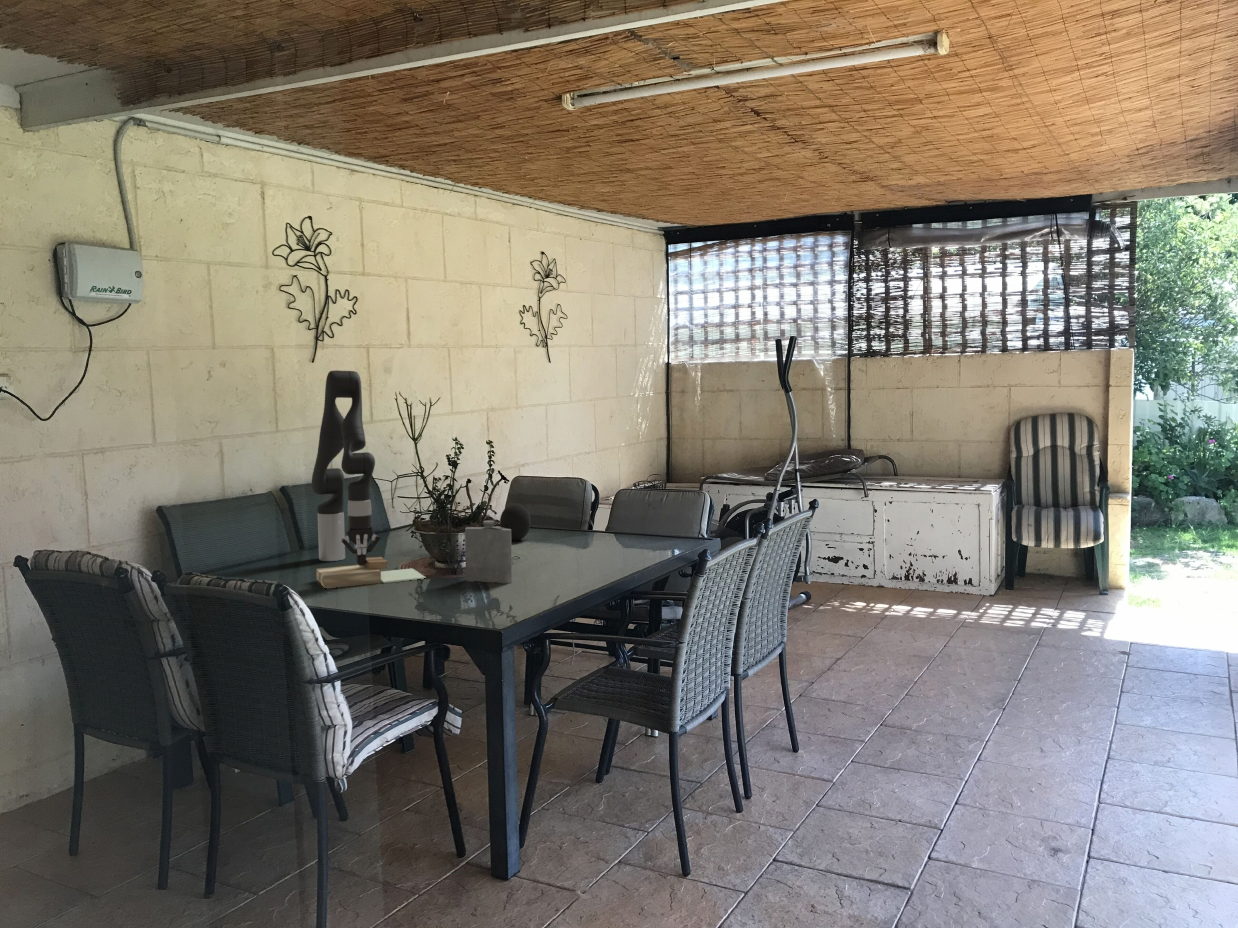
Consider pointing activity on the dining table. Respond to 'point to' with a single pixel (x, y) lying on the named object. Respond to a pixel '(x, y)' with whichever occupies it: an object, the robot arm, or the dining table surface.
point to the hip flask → (488, 553)
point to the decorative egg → (516, 521)
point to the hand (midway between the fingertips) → (361, 565)
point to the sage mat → (400, 575)
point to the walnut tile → (376, 563)
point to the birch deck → (347, 576)
